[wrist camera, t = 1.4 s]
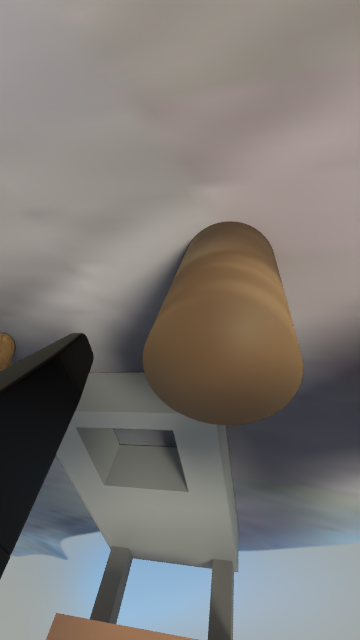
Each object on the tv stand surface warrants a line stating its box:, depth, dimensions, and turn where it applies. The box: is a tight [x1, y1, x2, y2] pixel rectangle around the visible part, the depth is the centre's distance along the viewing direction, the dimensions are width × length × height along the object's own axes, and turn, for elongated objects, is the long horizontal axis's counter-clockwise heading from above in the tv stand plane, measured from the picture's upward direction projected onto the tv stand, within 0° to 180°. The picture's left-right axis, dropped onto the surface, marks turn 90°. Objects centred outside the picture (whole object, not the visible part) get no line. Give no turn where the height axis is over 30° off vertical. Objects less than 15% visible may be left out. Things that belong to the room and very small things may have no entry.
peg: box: [142, 222, 303, 425], centre depth 11 cm, size 4×4×7 cm
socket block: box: [56, 372, 238, 572], centre depth 21 cm, size 10×17×3 cm, turn 9°
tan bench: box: [46, 546, 234, 640], centre depth 21 cm, size 11×5×9 cm, turn 99°
